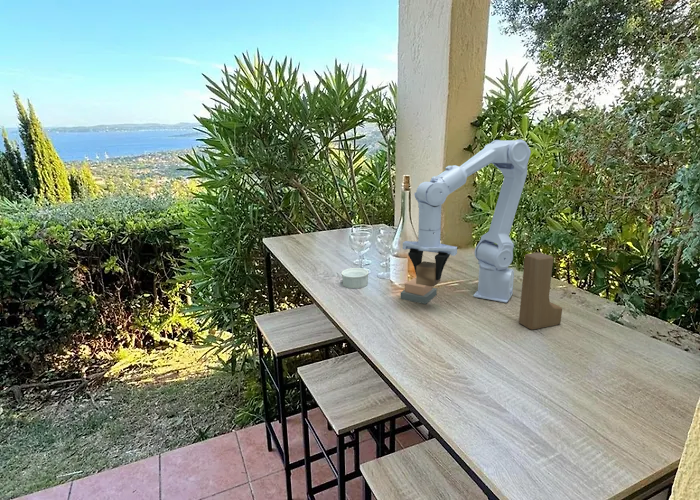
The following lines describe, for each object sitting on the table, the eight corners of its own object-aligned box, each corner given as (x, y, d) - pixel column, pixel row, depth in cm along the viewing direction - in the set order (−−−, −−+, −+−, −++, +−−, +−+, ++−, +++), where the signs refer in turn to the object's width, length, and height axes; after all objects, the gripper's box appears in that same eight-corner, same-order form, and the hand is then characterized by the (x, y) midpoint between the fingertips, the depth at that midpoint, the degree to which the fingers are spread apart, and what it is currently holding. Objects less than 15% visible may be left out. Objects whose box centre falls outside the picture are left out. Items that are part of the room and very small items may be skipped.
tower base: (436, 296, 118) (436, 288, 118) (426, 305, 112) (426, 297, 111) (411, 291, 123) (411, 284, 122) (400, 300, 116) (400, 292, 116)
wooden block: (547, 317, 102) (554, 249, 97) (561, 324, 97) (569, 254, 93) (517, 322, 99) (524, 253, 94) (530, 330, 95) (538, 258, 90)
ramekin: (358, 291, 123) (358, 278, 122) (336, 286, 128) (335, 273, 127) (374, 283, 130) (374, 270, 128) (352, 278, 135) (352, 266, 134)
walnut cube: (440, 281, 108) (440, 263, 107) (433, 286, 104) (434, 268, 103) (423, 278, 111) (423, 261, 110) (416, 283, 107) (416, 266, 106)
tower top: (432, 289, 117) (432, 281, 117) (423, 295, 113) (423, 287, 112) (414, 285, 121) (414, 277, 120) (404, 291, 116) (404, 283, 115)
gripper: (397, 228, 104) (397, 277, 108) (451, 234, 97) (449, 286, 100) (408, 223, 110) (408, 270, 114) (460, 228, 102) (458, 278, 106)
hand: (428, 277), depth 107 cm, fingers closed on walnut cube, 5 cm apart
